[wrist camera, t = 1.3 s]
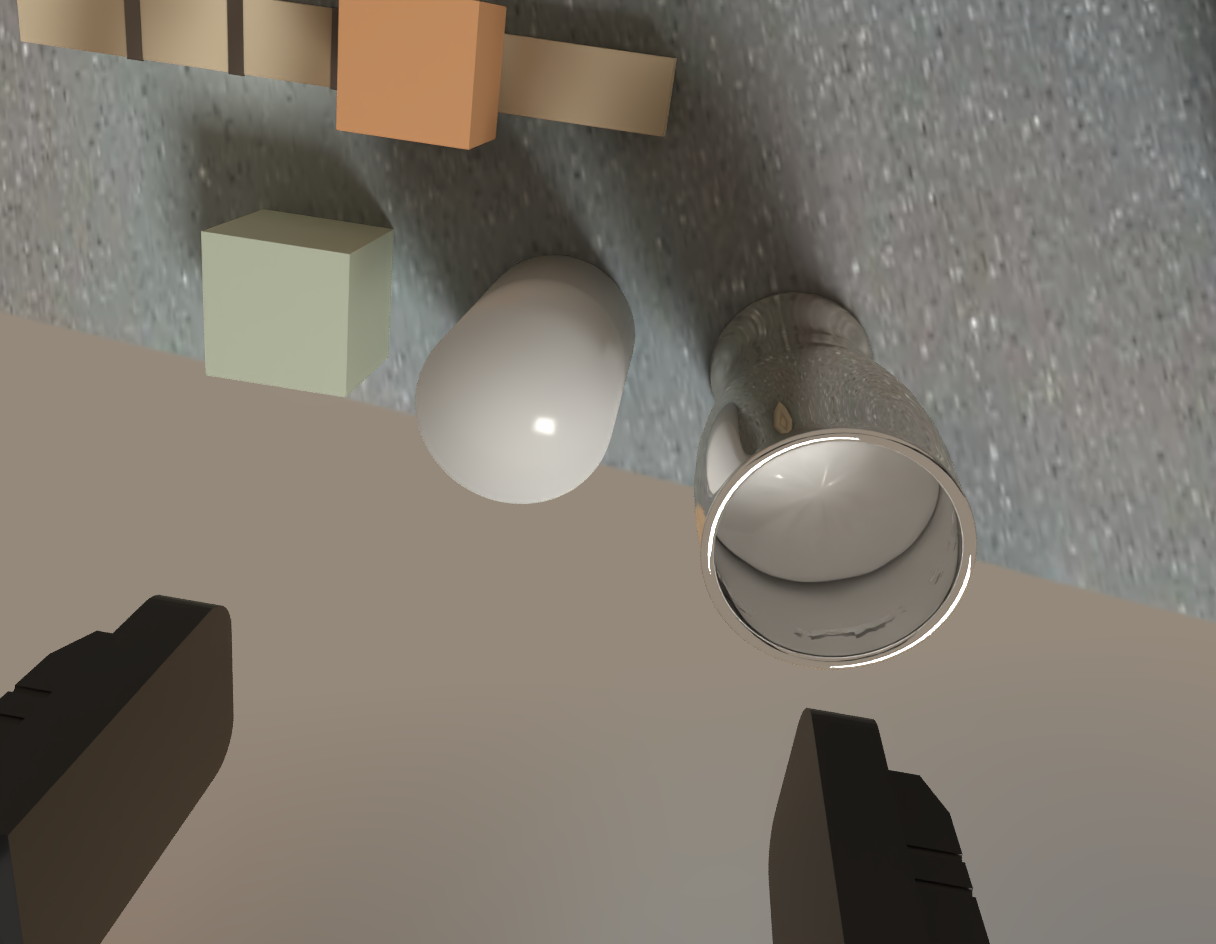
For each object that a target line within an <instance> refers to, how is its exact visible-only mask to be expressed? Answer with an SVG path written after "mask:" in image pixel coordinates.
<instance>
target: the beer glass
mask: <svg viewBox="0 0 1216 944" xmlns="http://www.w3.org/2000/svg"><path fill="white" fill-rule="evenodd" d="M710 382H711V388H712V393H713V396H714V399H715V404H714V405H713V407H712V409H711V412H710V414H709V416H708V419H707V422H706V424H705V427H704V430H703V432H702V435H701V438H700V442H699V446H698V451H697V459H696V467H695V475H694V501H695V502H694V503H695V518H696V525H697V533H698V539H699V545H700V561H701V569H702V574H703V579H704V583H705V586H706V589H707V591H708V594H709V596H710V598H711V600H712V602H713V604H714V606H715V607H716V609H717V611H718V612H719V614H720V615H721V617H722V618H723V619H724V621H725V622H726V623H727V624H728V625H729V626H730V628H731V629H732V630H733V631H735V632H736V633H737V634H738V635H739V636H740V637H741V638H742V639H744V640H745V641H746V642H748V643H749V644H750V645H752V646H753V647H755V648H757V649H758V650H760V651H762V652H764V653H766V654H767V655H770V656H772V657H774V658H777V659H779V660H782V661H785V662H788V663H791V664H795V665H799V666H803V667H809V668H817V669H850V668H858V667H864V666H868V665H873V664H876V663H879V662H883V661H885V660H888V659H891V658H894V657H896V656H898V655H900V654H902V653H905V652H907V651H908V650H910V649H912V648H914V647H915V646H917V645H919V644H920V643H921V642H923V641H924V640H926V639H927V638H928V637H930V636H931V635H932V634H933V633H934V632H936V631H937V630H938V629H939V628H940V627H941V626H942V625H943V624H944V623H945V622H946V621H947V620H948V618H949V617H950V616H951V615H952V613H953V612H954V610H955V609H956V608H957V606H958V605H959V603H960V602H961V600H962V598H963V596H964V594H965V592H966V590H967V588H968V586H969V583H970V581H971V578H972V575H973V571H974V567H975V562H976V555H977V533H976V526H975V521H974V517H973V513H972V510H971V507H970V505H969V502H968V500H967V498H966V496H965V494H964V492H963V490H962V488H961V484H960V481H959V478H958V476H957V473H956V470H955V468H954V465H953V462H952V460H951V457H950V454H949V452H948V450H947V448H946V446H945V444H944V442H943V440H942V438H941V436H940V434H939V432H938V430H937V428H936V426H935V424H934V423H933V421H932V419H931V418H930V417H929V415H928V414H927V412H926V411H925V410H924V408H923V407H922V405H921V404H920V403H919V401H918V400H917V398H916V397H915V396H914V395H913V394H912V392H911V391H910V390H909V389H908V388H907V387H906V386H905V385H904V384H903V383H901V382H900V381H899V380H898V379H897V378H896V377H894V376H893V375H892V374H891V373H890V372H889V371H887V370H886V369H885V368H883V367H882V366H881V365H879V364H878V363H876V362H874V358H873V352H872V348H871V345H870V342H869V340H868V337H867V335H866V333H865V331H864V330H863V328H862V326H861V325H860V324H859V322H858V321H857V320H856V319H855V318H854V317H853V316H852V315H851V314H850V313H849V312H848V311H847V310H846V309H844V308H843V307H841V306H840V305H838V304H837V303H835V302H833V301H831V300H829V299H826V298H824V297H821V296H818V295H814V294H809V293H801V292H789V293H781V294H776V295H772V296H768V297H765V298H763V299H760V300H758V301H756V302H754V303H752V304H751V305H749V306H747V307H746V308H745V309H743V310H742V311H741V312H739V313H738V314H737V315H736V316H735V317H734V318H733V319H732V320H731V321H730V322H729V323H728V324H727V326H726V327H725V328H724V330H723V331H722V333H721V335H720V336H719V338H718V340H717V342H716V345H715V347H714V350H713V354H712V358H711V364H710Z"/></svg>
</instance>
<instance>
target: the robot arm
mask: <svg viewBox="0 0 1216 944" xmlns="http://www.w3.org/2000/svg"><path fill="white" fill-rule="evenodd" d="M232 676H233V675H232V632H231V619H230V615H229V612H228V610H227V609H226V608H225V607H224V606H220V605H215V604H208V603H203V602H197V601H191V600H185V599H180V598H173V597H168V596H162V595H155V596H153V597H151V598H149V599H148V600H147V601H146V602H145V603H144V604H143V605H142V606H140V607H139V608H138V609H137V610H136V611H135V612H134V613H133V614H132V615H131V616H130V617H129V618H128V619H127V620H126V621H125V622H124V623H123V624H122V625H121V626H120V627H119V628H118V629H117V630H116V631H115V632H114V633H113V634H112V633H106V632H101V631H95V632H93V633H91V634H89V635H87V636H85V637H83V638H81V639H79V640H77V641H75V642H73V643H71V644H69V645H67V646H65V647H63V648H61V649H59V650H57V651H55V652H53V653H50V654H49V655H48V656H47V657H46V658H44V659H43V660H42V661H41V662H40V663H39V664H38V665H37V666H36V667H34V669H32V670H31V671H30V672H29V673H28V674H27V675H26V676H25V677H23V678H22V679H21V680H20V681H19V682H18V683H17V684H16V685H15V689H14V691H13V692H7V693H6V694H5V695H4V696H3V697H1V698H0V944H100V943H101V942H102V940H103V939H104V937H105V936H106V935H107V933H108V932H109V930H110V929H111V927H112V926H113V924H114V923H115V921H116V920H117V919H118V917H119V916H120V914H121V912H122V911H123V910H124V908H125V907H126V905H127V904H128V903H129V901H130V900H131V898H132V897H133V895H134V894H135V892H136V891H137V889H138V888H139V887H140V885H141V884H142V882H143V881H144V879H145V878H146V876H147V875H148V874H149V872H150V871H151V869H152V868H153V866H154V865H155V863H156V862H157V860H158V859H159V857H160V856H161V855H162V853H163V852H164V850H165V849H166V847H167V846H168V844H169V843H170V842H171V840H172V839H173V837H174V836H175V834H176V833H177V831H178V830H179V828H180V827H181V825H182V824H183V823H184V821H185V820H186V818H187V817H188V815H189V814H190V812H191V811H192V810H193V808H194V807H195V805H196V804H197V802H198V801H199V799H200V798H201V796H202V795H203V794H204V792H205V791H206V789H207V787H208V786H209V785H210V783H211V782H212V781H213V779H214V778H215V776H216V774H217V773H218V771H219V769H220V767H221V765H222V763H223V761H224V758H225V755H226V753H227V750H228V746H229V743H230V739H231V734H232V727H233V681H232V680H233V677H232ZM769 890H770V904H771V920H772V934H773V935H772V936H773V944H990V943H989V939H988V936H987V933H986V930H985V927H984V923H983V920H982V917H981V914H980V910H979V907H978V904H977V900H976V898H975V897H972V890H973V887H972V884H971V881H970V878H969V875H968V871H967V868H966V865H965V863H964V862H962V852H961V848H960V845H959V842H958V839H957V836H956V832H955V829H954V826H953V822H952V819H951V816H950V813H949V812H948V811H947V809H946V808H945V807H944V806H943V804H942V803H941V802H940V801H939V800H938V798H937V797H936V796H935V795H934V793H933V792H932V791H931V789H930V788H929V787H928V785H927V784H926V783H925V782H924V781H923V779H922V778H921V777H920V775H914V774H909V773H903V772H897V771H891V770H888V767H887V762H886V758H885V754H884V750H883V745H882V741H881V737H880V733H879V730H878V726H877V723H876V721H875V720H874V719H869V718H862V717H857V716H850V715H845V714H839V713H834V712H828V711H822V710H816V709H810V708H806V709H805V710H804V711H803V713H802V715H801V718H800V720H799V724H798V728H797V731H796V735H795V739H794V743H793V747H792V750H791V754H790V758H789V762H788V765H787V769H786V773H785V777H784V781H783V785H782V788H781V793H780V796H779V800H778V804H777V807H776V812H775V816H774V821H773V825H772V831H771V839H770V848H769Z"/></svg>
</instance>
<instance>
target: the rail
mask: <svg viewBox="0 0 1216 944" xmlns="http://www.w3.org/2000/svg"><path fill="white" fill-rule="evenodd" d="M17 4H18V14H19V24H20V35H21V41H24V42H30V43H37V44H44V45H50V46H57V47H64V48H71V49H77V50H84V51H91V52H97V53H104V54H111V55H118V56H124V57H127V59H132V60H139V61H144V60H151V61H158V62H164V63H171V64H178V65H185V66H191V67H198V68H205V69H211V70H218V71H225V72H229V74H233V75H240V76H245V75H252V76H258V77H265V78H272V79H278V80H285V81H292V82H299V83H305V84H312V85H319V86H325V87H330V89H333V90H337V72H338V25H339V8H335V7H332V8H328V7H322V6H315V5H308V4H301V3H294V2H287V1H281V0H17ZM676 62H677V58H670V57H663V56H657V55H650V54H643V53H636V52H629V51H622V50H616V49H609V48H602V47H595V46H588V45H581V44H575V43H568V42H561V41H554V40H547V39H540V38H534V37H527V36H520V35H513V34H506V33H504V44H503V56H502V68H501V80H500V92H499V105H498V112H500V113H506V114H513V115H520V116H527V117H533V118H540V119H547V120H553V121H560V122H567V123H573V124H580V125H587V126H594V127H600V128H607V129H614V130H620V131H627V132H634V133H641V134H647V135H654V136H661V137H664V135H665V133H666V130H667V123H668V116H669V109H670V103H671V96H672V89H673V83H674V76H675V69H676Z"/></svg>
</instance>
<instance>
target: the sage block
mask: <svg viewBox="0 0 1216 944" xmlns="http://www.w3.org/2000/svg"><path fill="white" fill-rule="evenodd" d="M393 239H394V229H390V228H383V227H377V226H370V225H364V224H357V223H351V222H344V221H338V220H331V219H325V218H318V217H312V216H305V215H299V214H292V213H286V212H279V211H273V210H266V209H262V210H259V211H256V212H254V213H251V214H248V215H245V216H242V217H240V218H237V219H234V220H231V221H228V222H226V223H223V224H220V225H217V226H214V227H212V228H209V229H206V230H203V231H201V244H202V274H203V305H204V335H205V365H206V375H209V376H215V377H221V378H228V379H234V380H240V381H246V382H252V383H259V384H265V385H272V386H278V387H284V388H290V389H296V390H302V391H309V392H315V393H321V394H327V395H334V396H340V397H347V396H348V395H349V394H350V393H351V392H352V391H353V390H354V389H355V388H356V387H357V386H358V385H359V384H360V383H362V382H363V381H364V380H365V379H366V378H367V377H368V376H369V375H370V374H371V373H372V372H373V371H374V370H375V369H376V368H377V367H378V366H379V365H380V364H381V363H383V362H384V361H385V360H386V359H387V358H388V350H389V328H390V306H391V284H392V262H393Z"/></svg>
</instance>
